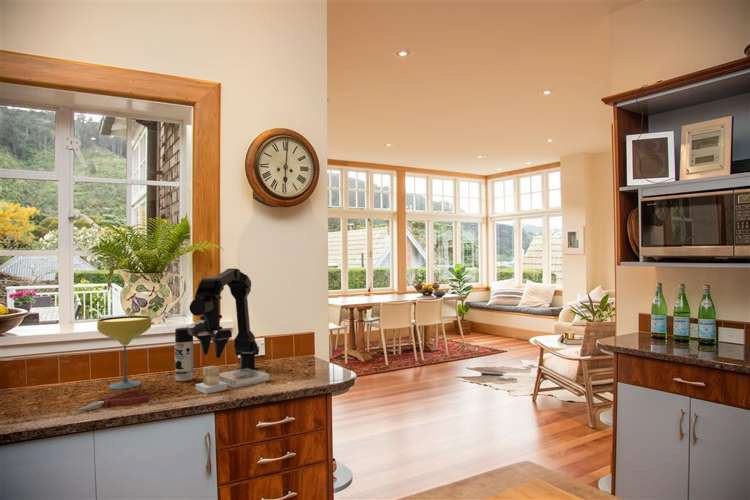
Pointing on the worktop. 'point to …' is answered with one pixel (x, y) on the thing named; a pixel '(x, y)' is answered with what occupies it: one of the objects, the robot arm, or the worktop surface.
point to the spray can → (183, 355)
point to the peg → (211, 375)
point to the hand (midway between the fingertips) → (211, 356)
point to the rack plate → (243, 377)
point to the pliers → (116, 401)
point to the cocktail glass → (124, 338)
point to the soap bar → (211, 387)
